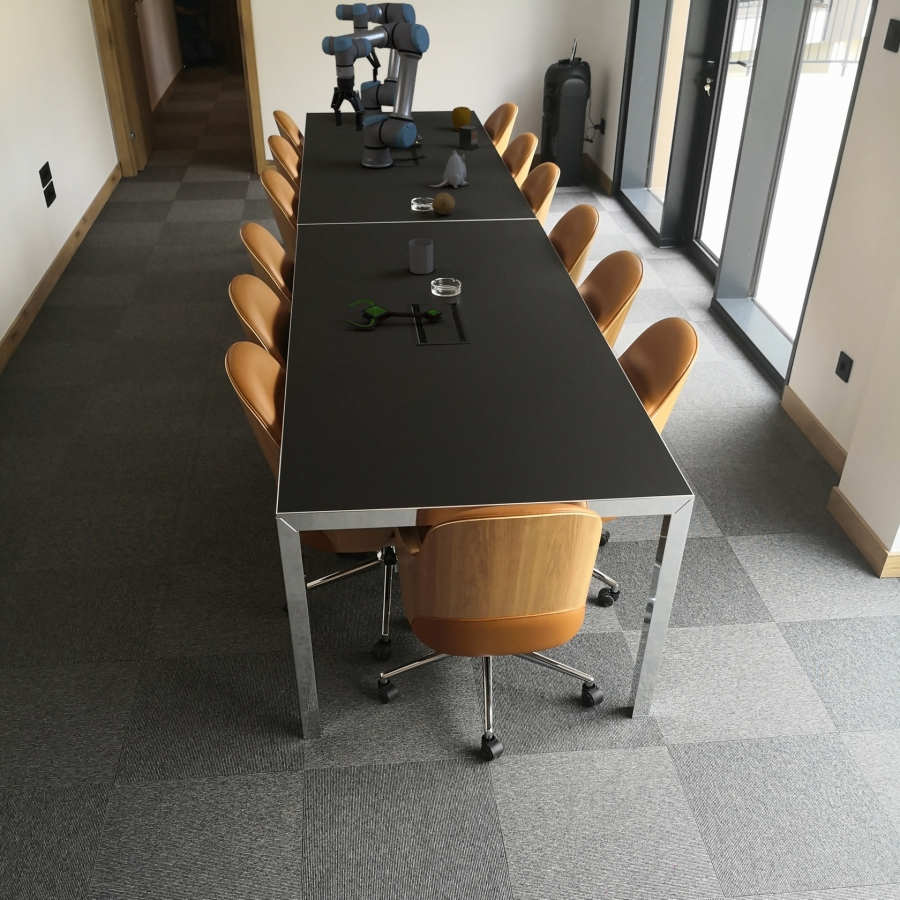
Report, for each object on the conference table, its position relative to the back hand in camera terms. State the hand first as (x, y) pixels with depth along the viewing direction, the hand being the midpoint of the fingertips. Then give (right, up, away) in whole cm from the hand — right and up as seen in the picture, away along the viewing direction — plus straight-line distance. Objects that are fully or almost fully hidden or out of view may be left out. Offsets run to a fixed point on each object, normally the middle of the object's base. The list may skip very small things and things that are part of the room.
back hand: (363, 81), depth 459 cm
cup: (+35, -132, -151) cm, 204 cm away
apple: (+52, -15, +31) cm, 63 cm away
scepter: (+28, -156, -189) cm, 247 cm away
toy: (+44, -77, -65) cm, 110 cm away
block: (+55, -36, -2) cm, 66 cm away
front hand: (+1, -54, -77) cm, 94 cm away
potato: (+43, -97, -97) cm, 143 cm away
